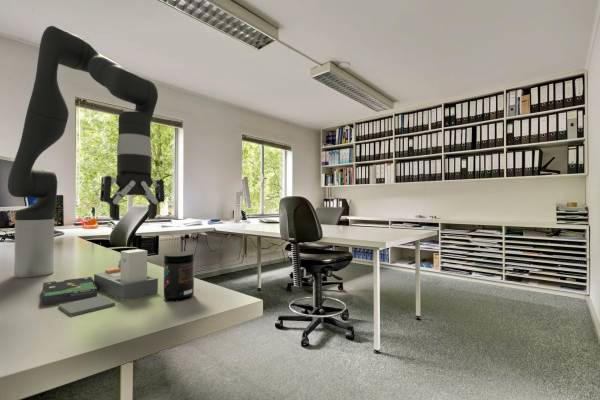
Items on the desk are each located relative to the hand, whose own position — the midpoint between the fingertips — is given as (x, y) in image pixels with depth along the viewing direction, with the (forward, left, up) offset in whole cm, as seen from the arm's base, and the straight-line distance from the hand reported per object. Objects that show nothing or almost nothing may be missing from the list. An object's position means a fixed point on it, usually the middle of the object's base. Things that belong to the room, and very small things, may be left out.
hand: (134, 219), depth 74 cm
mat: (+2, -11, -18) cm, 21 cm away
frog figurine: (-19, +7, -19) cm, 27 cm away
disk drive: (-12, -10, -19) cm, 25 cm away
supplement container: (+12, +5, -19) cm, 23 cm away
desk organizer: (-8, 0, -18) cm, 20 cm away
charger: (0, 0, -16) cm, 16 cm away
